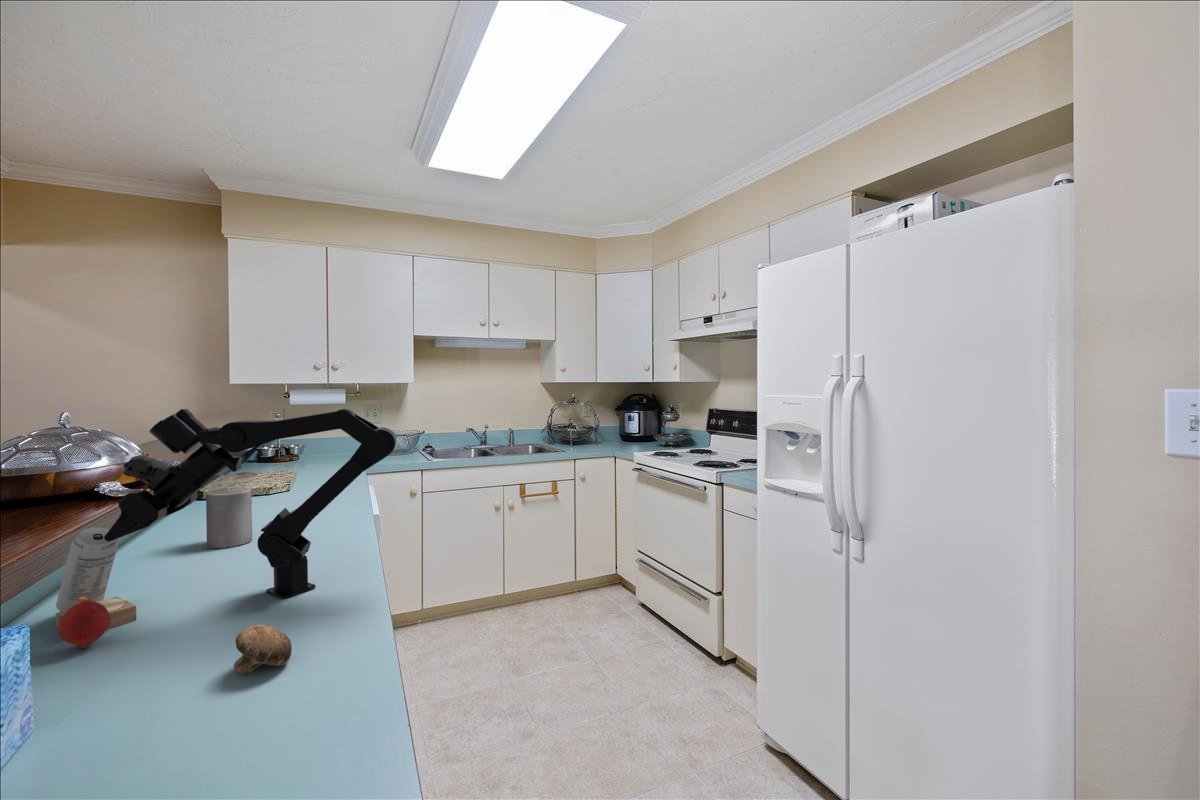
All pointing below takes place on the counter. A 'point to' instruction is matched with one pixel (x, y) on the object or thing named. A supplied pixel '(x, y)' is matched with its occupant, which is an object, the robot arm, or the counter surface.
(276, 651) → the mushroom
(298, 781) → the counter surface
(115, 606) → the pedestal
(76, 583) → the energy drink can
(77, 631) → the pomegranate
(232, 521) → the pillar candle
